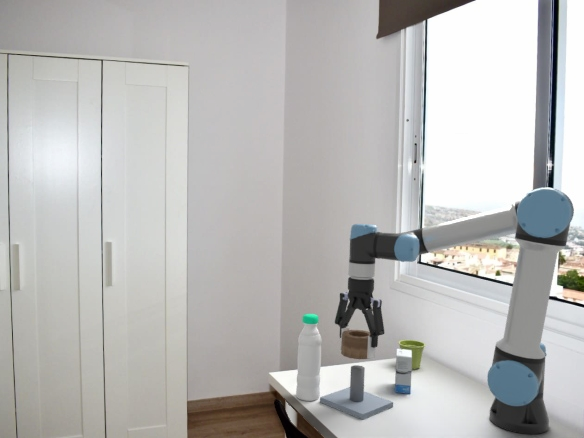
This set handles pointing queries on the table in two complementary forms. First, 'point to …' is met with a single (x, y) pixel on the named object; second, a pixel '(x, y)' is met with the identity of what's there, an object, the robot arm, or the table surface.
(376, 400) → the stand
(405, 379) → the ink box
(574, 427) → the table surface
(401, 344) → the plant pot
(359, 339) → the collar
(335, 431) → the table surface
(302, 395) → the water bottle
